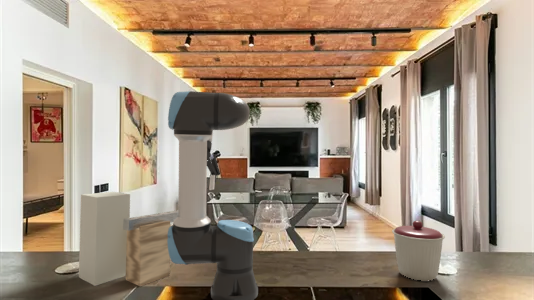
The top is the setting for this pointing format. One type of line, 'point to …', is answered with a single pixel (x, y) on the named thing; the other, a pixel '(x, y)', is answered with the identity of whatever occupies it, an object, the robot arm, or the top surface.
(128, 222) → the rail
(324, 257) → the top surface
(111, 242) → the unit
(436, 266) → the canister
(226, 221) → the robot arm
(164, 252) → the light brown boxy piece
